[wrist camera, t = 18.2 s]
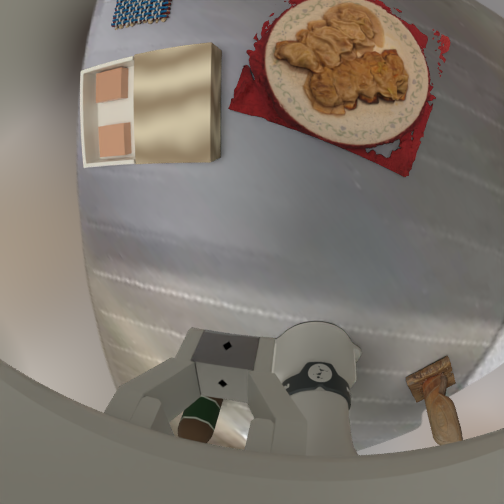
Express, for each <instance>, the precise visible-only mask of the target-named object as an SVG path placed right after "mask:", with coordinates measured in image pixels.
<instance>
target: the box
mask: <svg viewBox="0 0 504 504" xmlns="http://www.w3.org/2000/svg"><path fill="white" fill-rule="evenodd" d="M120 67H124V68H129V70H128V98H125V99H120V100H115V101H110V102H105V103H96V74H97V73H101V72H104V71H108V70H112V69H116V68H120ZM133 92H134V56H132V57H127V58H123V59H119V60H116V61H112V62H108V63H105V64H101V65H98V66H95V67H92V68H88V69H85V70H82V71H81V79H80V118H81V140H82V154H83V165H84V168H86V167H96V166H108V165H122V164H135V163H136V159H135V141H134V103H133ZM128 122H130V124H131V151H132V153H131V154H127V155H120V156H108V157H100V150H99V132H98V127H100V126H106V125H113V124H120V123H128Z"/></svg>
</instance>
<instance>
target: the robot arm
mask: <svg viewBox="0 0 504 504" xmlns="http://www.w3.org/2000/svg"><path fill="white" fill-rule="evenodd" d="M360 356H361V349H360V348H359V347H358V346H356V345H355V344H353V343H352V342H351V340H350V338H349V337H348V335H347V334H346V333H345V332H344V331H343V330H342V329H341V328H339V327H337V326H335V325H332V324H329V323H324V322H308V323H303V324H299V325H296V326H294V327H292V328H290V329H289V330H287V331H286V332H285V333H283V334H282V335H281V336H280V337H279V338H277V339H275V338H270V337H257V336H247V335H239V334H230V333H223V332H217V331H211V330H203V329H198V328H193V327H192V328H191V329H189V331H188V333H187V335H186V337H185V339H184V341H183V343H182V345H181V347H180V349H179V351H178V353H177V355H176V357H175V358H169V359H168V360H166V361H164V362H162V363H161V364H159V365H157V366H155V367H154V368H152V369H150V370H148V371H147V372H145V373H143V374H141V375H139V376H138V377H136V378H134V379H132V380H130V381H128V382H127V383H125V384H123V385H121V386H119V388H118V390H117V391H116V393H115V395H114V396H113V398H112V400H111V401H110V403H109V405H108V406H107V408H106V410H105V412H104V413H102V412H100V411H97V410H95V409H93V408H90V407H88V406H85V405H83V404H81V403H79V402H76V401H74V400H72V399H70V398H68V397H66V396H64V395H62V394H60V393H58V392H56V391H54V390H52V389H50V388H48V387H46V386H44V385H42V384H40V383H39V382H37V381H35V380H33V379H32V378H29V377H28V376H26V375H25V374H23V373H21V372H20V371H18V370H16V369H15V368H13V367H12V366H10V365H8V364H7V363H5V362H4V361H2V360H1V359H0V504H504V428H503V429H500V430H497V431H494V432H490V433H487V434H484V435H481V436H477V437H474V438H470V439H466V440H462V441H458V442H454V443H449V444H445V445H440V446H435V447H430V448H424V449H417V450H411V451H404V452H396V453H385V454H374V455H358V454H357V452H356V450H355V448H354V445H353V441H352V435H351V428H350V420H349V410H350V406H351V393H350V388H352V386H353V384H354V383H356V363H357V361H358V360H359V358H360ZM200 395H202V396H208V397H215V398H222V399H228V400H233V401H239V402H245V403H248V406H249V408H250V410H251V412H252V414H253V416H254V419H253V420H252V421H251V423H250V428H249V433H248V437H247V442H246V446H245V450H241V449H234V448H228V447H222V446H217V445H212V444H207V443H202V442H197V441H193V440H188V439H184V438H180V437H176V436H174V434H173V431H172V429H171V426H170V424H169V422H170V421H171V420H173V419H174V418H175V417H176V416H178V415H179V414H180V413H181V412H183V411H184V410H185V409H186V408H187V407H189V406H190V405H191V404H192V403H194V402H195V401H196V400H197V399H198V398H199V397H201V396H200Z"/></svg>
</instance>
